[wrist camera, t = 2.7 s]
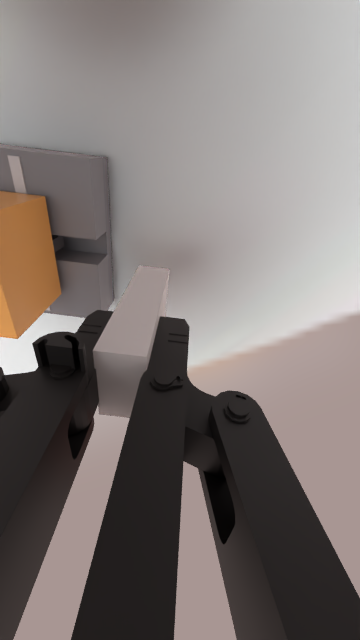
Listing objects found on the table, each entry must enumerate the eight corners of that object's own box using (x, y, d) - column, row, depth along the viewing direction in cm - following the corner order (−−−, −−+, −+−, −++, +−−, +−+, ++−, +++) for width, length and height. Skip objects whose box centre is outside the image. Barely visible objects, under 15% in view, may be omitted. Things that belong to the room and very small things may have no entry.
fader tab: (12, 185, 16) (-102, 206, 10) (61, 191, 16) (-23, 216, 10) (33, 276, 19) (-44, 333, 13) (73, 281, 19) (15, 340, 13)
